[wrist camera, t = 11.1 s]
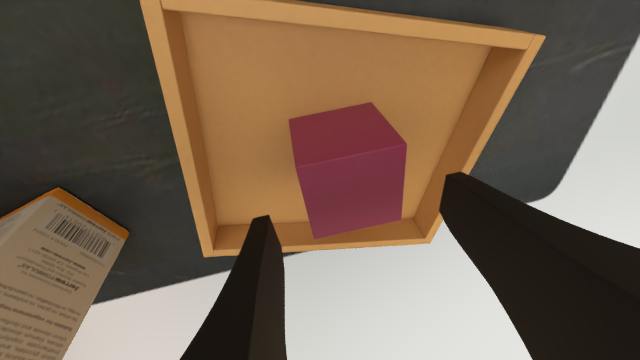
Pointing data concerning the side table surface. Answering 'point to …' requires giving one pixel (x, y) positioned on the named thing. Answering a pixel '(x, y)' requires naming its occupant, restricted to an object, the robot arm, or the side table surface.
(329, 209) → the pink block
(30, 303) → the supplement box
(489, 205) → the robot arm
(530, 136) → the side table surface
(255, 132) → the tray
